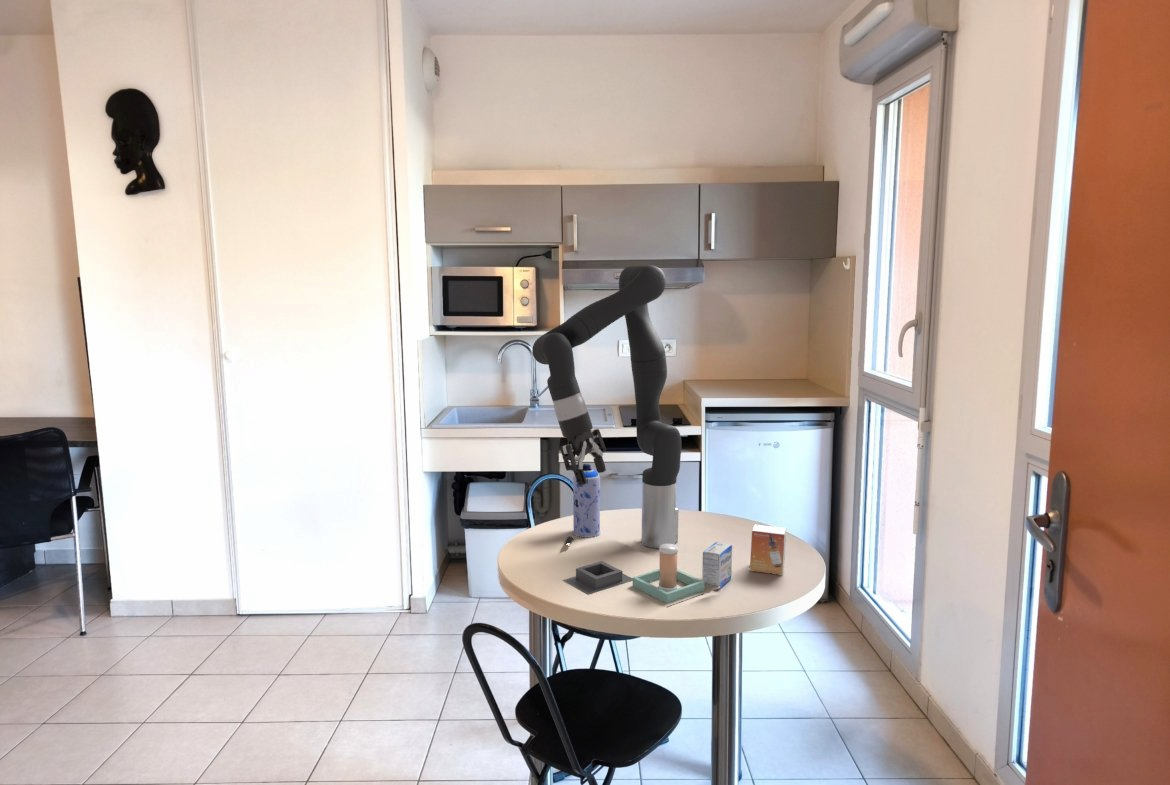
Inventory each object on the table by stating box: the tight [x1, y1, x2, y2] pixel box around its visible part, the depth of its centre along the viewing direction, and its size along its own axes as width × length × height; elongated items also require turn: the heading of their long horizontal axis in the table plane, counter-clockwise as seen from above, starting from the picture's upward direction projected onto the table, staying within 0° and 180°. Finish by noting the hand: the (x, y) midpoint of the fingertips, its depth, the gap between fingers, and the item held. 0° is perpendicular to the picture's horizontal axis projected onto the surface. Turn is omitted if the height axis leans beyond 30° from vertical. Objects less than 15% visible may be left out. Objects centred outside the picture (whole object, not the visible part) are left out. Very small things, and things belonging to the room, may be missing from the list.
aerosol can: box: [572, 463, 601, 539], centre depth 204 cm, size 8×8×20 cm
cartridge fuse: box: [658, 544, 679, 592], centre depth 165 cm, size 4×4×10 cm
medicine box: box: [701, 541, 733, 591], centre depth 171 cm, size 8×4×9 cm, turn 148°
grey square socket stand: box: [562, 560, 633, 596], centre depth 170 cm, size 14×10×4 cm
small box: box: [749, 524, 787, 576], centre depth 179 cm, size 8×6×10 cm
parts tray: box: [632, 569, 705, 608], centre depth 166 cm, size 12×12×3 cm
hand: (592, 478), depth 174 cm, fingers open, 8 cm apart
